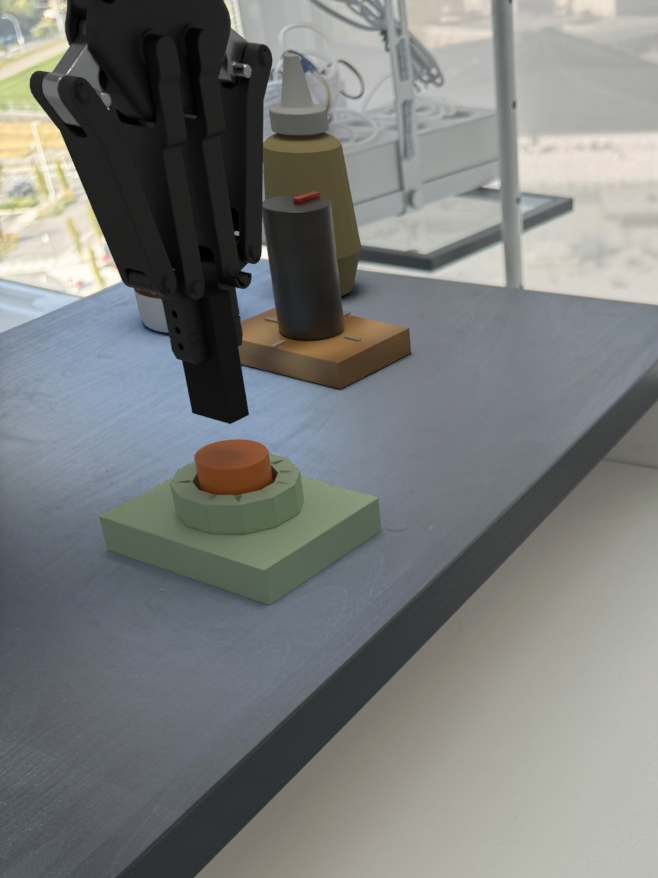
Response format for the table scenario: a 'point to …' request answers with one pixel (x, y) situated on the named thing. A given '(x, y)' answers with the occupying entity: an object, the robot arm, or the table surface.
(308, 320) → the knob
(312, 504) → the green button base
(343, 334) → the panel
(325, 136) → the squeeze bottle
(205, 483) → the push button
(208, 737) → the table surface
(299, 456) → the table surface
